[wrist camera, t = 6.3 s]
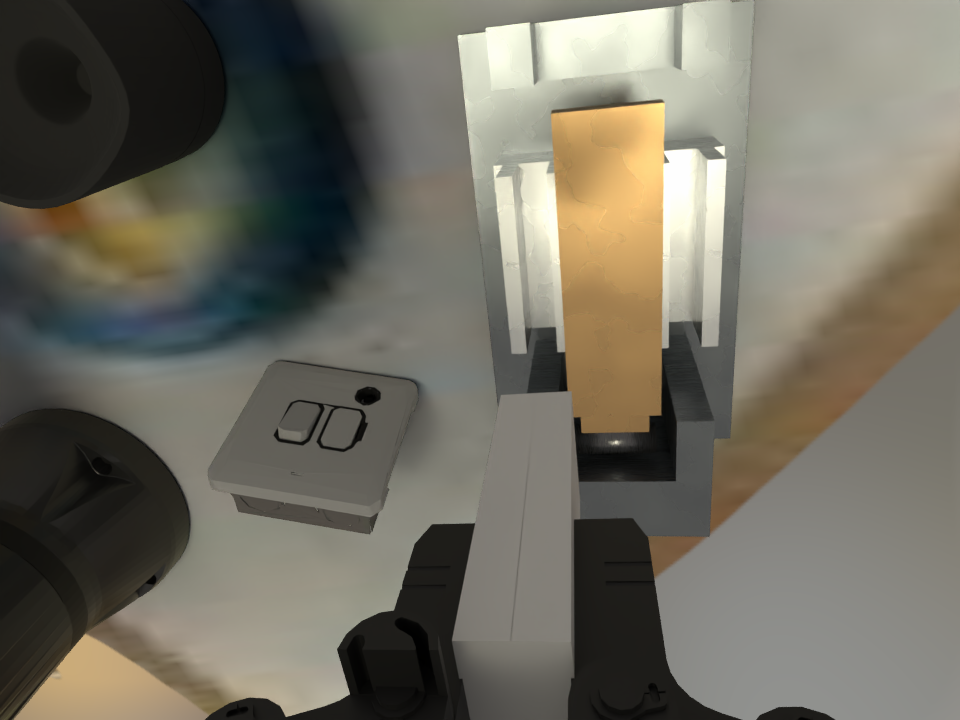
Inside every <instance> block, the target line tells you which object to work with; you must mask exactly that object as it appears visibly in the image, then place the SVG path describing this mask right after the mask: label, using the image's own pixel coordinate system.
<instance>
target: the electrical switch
mask: <svg viewBox="0 0 960 720" xmlns="http://www.w3.org/2000/svg"><path fill="white" fill-rule="evenodd" d="M418 399H419V398H418V390H417V387H416V385H415V383H413V382H411V381H410V380H404V379H398V378H391V377H384V376H377V375H371V374H364V373H357V372H351V371H344V370H337V369H331V368H324V367H317V366H311V365H304V364H297V363H290V362H284V361H278V362H275V363H273V364H271V365H269V366H268V368H267V369H266V371H265V373H264V375H263V377H262V378H261V380H260V382H259V384H258V385H257V387H256V389H255V390H254V392H253V394H252V396H251V397H250V399H249V401H248V402H247V404H246V406H245V407H244V409H243V411H242V413H241V414H240V416H239V418H238V419H237V421H236V423H235V425H234V426H233V428H232V430H231V431H230V433H229V435H228V436H227V438H226V440H225V442H224V443H223V445H222V447H221V448H220V450H219V452H218V453H217V455H216V457H215V459H214V460H213V462H212V464H211V465H210V467H209V469H208V478H209V481H210V485H211V489H212V490H216V491H221V492H227V493H230V494H231V495H232V496H233V497H234V500H235V503H236V506H237V509H238V512H242V513H248V514H254V515H260V516H265V517H271V518H277V519H283V520H289V521H295V522H300V523H306V524H312V525H318V526H324V527H330V528H335V529H341V530H347V531H353V532H359V533H365V534H370V533H371V531H370V526H371V530H372V531H373V528H374V525H375V522H376V519H377V516H378V513H379V512H380V511H381V510H382V509H383V506H384V503H385V500H386V497H387V494H388V491H389V489H388V488H387V486H388V482H389V479H390V476H391V473H392V470H393V467H394V464H395V461H396V458H397V455H398V452H399V449H400V446H401V443H402V440H403V437H404V434H405V431H406V428H407V425H408V422H409V419H410V416H411V413H412V412H414V411H415V408H416V405H417V402H418ZM284 502H285V505H284ZM316 508H317V509H318V511H317V510H316ZM348 525H351V526H348Z"/></svg>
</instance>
